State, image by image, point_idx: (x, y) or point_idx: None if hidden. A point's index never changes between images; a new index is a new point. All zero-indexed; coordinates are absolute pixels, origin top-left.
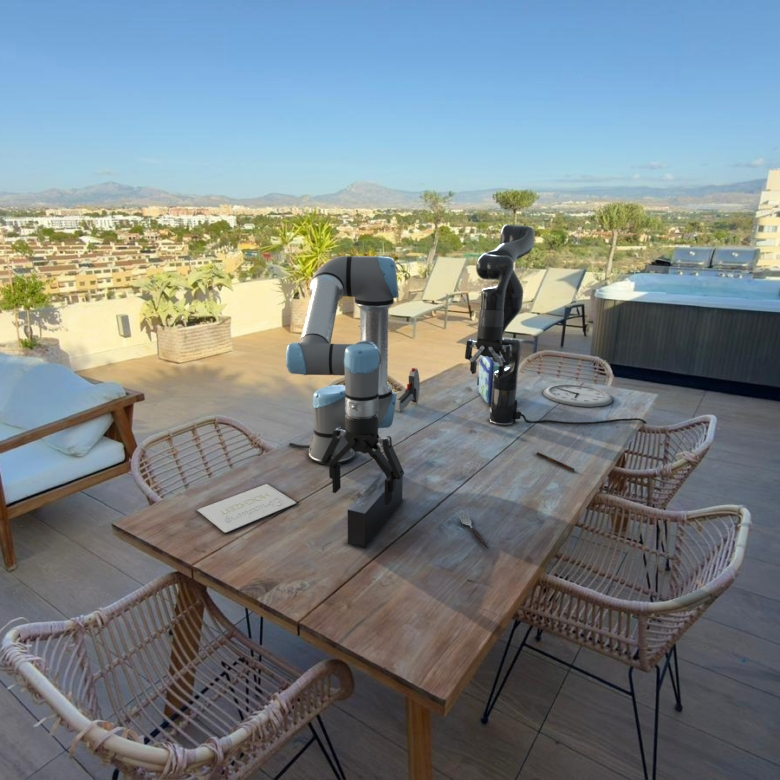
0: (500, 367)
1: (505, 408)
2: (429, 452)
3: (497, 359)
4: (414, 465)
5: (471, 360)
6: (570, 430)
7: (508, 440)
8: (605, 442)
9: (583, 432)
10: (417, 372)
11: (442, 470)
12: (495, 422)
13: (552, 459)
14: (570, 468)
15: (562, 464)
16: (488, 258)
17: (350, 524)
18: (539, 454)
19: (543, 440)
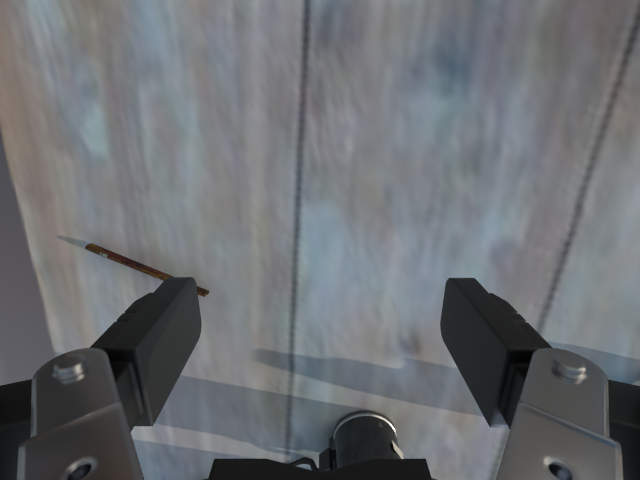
0: (111, 341)
1: (353, 459)
2: (479, 148)
3: (79, 419)
4: (494, 26)
5: (573, 358)
6: (201, 459)
7: (306, 339)
8: None
9: (172, 462)
10: None
11: (399, 44)
12: (372, 415)
13: (154, 273)
14: (97, 248)
15: (122, 259)
16: None
17: None
18: (198, 289)
19: (231, 380)
